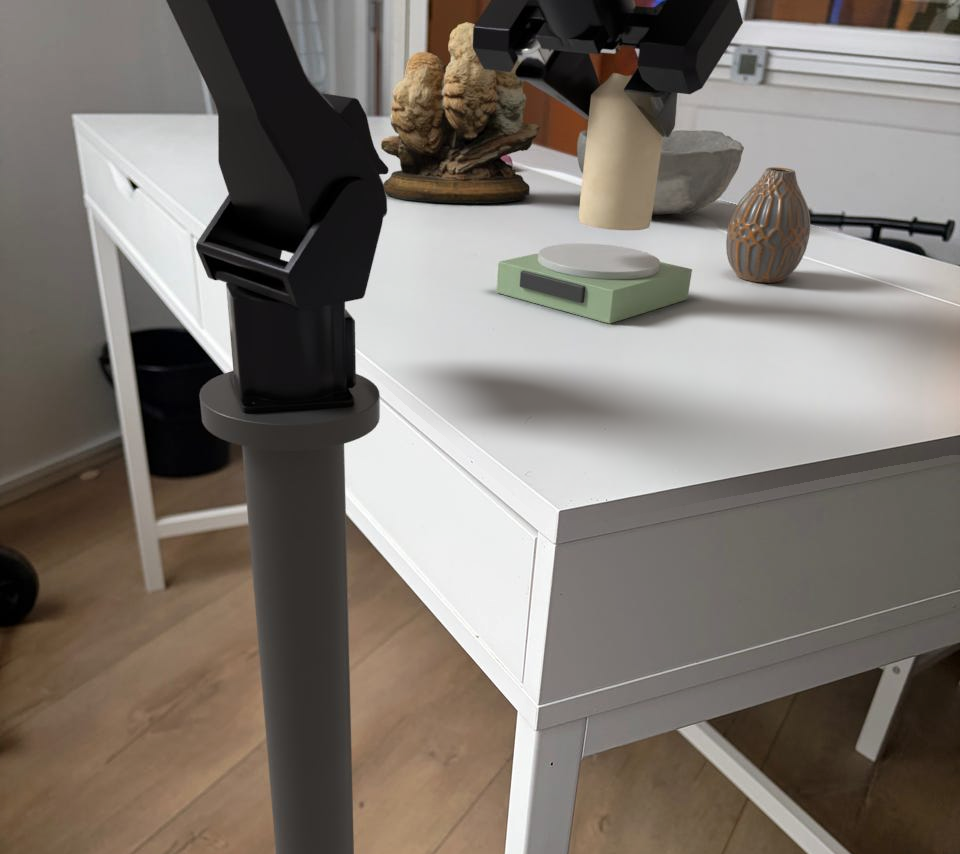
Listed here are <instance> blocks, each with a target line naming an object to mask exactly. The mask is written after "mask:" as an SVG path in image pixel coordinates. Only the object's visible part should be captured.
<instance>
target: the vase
mask: <svg viewBox="0 0 960 854" xmlns="http://www.w3.org/2000/svg"><path fill="white" fill-rule="evenodd" d="M726 231H727V233H726V241H725V248H726V249H725V250H726V256H727V261H728V263H729V267H731V269H732V271H733V272H734V274H735V276H736V277H738V278H740V279H742V280H745V281H749V282H755V283H764V284H774V283H779V282H782V281H783V280H785V279H787V277H789V276H790V275H791V274H792V273H794V271H795V270H796V269H797V267H798V266H799V265H800V263H801V261H802V259H803V257H804V255H805V253H806V251H807V247H808V244H809V240H810V235H811V214H810V210H809V206H808V203H807V201H806V199H805V196H804V195H803V192H802V190H801V188H800V185H799V183H798V180H797V173H796V171H795V170H794V169H792V168H786V167H778V166H777V167H773V166H772V167H767V168H766V169H764V172H763V174H762V175H761V176H760V178H759V180H758V181H757V182H756V183H755V184H754V185H753V186H752V187H751V188H750V189H749V190H748V191H747V192H746V194H744V196H743V197H742V198H741V199H740V200H739V202H738V203H737V204H736V207H735V209H734V210H733V212H732V215H731V217H730V220H729V223H728V227H727V230H726Z"/></svg>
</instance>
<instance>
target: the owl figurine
mask: <svg viewBox="0 0 960 854" xmlns="http://www.w3.org/2000/svg"><path fill="white" fill-rule="evenodd" d="M475 24H476V23H475ZM475 24H474V23H471V22H469V21H465V22H464V23H460V24H457V26H456V27H455V28H454V29H452V31H451V33H450V34H449V40H448V45H447V46H448V47H447V48H448V51H447V52H448V53H449V55H450V62H449V63H448V65H446V64H445V63H444V61H442V60H441V59H440V57H439V56H437V55H435V54H433V53H431V52H427V51H418V52H416V53H413V54H412V55H411V56H410V57H409V59H408V61H407V64H406V66H405V67H406V68H405V72H404V77H403V79H402V80H401V81H399V82H397V84H396V86H395V87H394V90H393V91H392V97H393V99H392V102H391V104H390V105H391V107H390V108H391V109H390V110H391V114H390V115H389V119H390V125H391V127H392V129H393V131H394V132H395V134H398V135H389V136H388V137H384V138H382V140H381V142H380V143H381V144H380V148H381V150H383V151H384V152H385V153H386V154H388V155H390V156H393V157H396V158H398V159H399V166H400V170H395V171H393V172H392V173H391V174H390V176H389V177H388V179H386V180H385V181H383V185H384V189H385V193H386V196H390V197H393V198H395V199H399V200H405V201H416V202H429V203H430V202H431V203H442V204H444V203H447V204H449V203H450V204H495V203H498V204H499V203H509V202H516V201H521V200H523V199H525V198H526V197H529V196H530V190H531V189H530V184H528V183H527V182H526V181H525V180H524V178H523V176H522V175H521V174H517V173H516V172H517V171H516V170H515V169H513V168H514V166H510V165H508V164H506V163H505V161H503V160H502V159H501V157H502V156H505V155H508V156H509V155H511V154H514V153H517V152H520V151H522V152H524V151H528V150H529V149H531V147H532V146H533V140H534V139H536V137H538V134H539V130H540V129H541V127H540V125H539V124H536V123H529V124H528V123H523V122H524V120H523V119H524V110H525V107H526V102H527V95H526V94H525V93H524V90H523V87H524V82H525V81H521V80H519V79H518V78H517V76H516V74H515V71H516V69H517V67H518V66H519V64H520V62H519V60H517V62H516V64H515V66H514V68H513V69H512V71H511V72H504V71H495V70H487V69H484V68H483V66H482V64H481V63H480V61H479V59H478V57H477V55H476V53H475V51H474V50H473V28H474V26H475Z"/></svg>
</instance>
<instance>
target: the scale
mask: <svg viewBox="0 0 960 854" xmlns="http://www.w3.org/2000/svg"><path fill="white" fill-rule="evenodd" d="M497 267H498V268H497V278H496V279H497V280H496V282H497V283H496V293H497V294H499V295H504V296H508V297H511V298H515V299H518V300H522V301H525V302H529V303H532V304H537V305H541V306H544V307H547V308H551V309H555V310H558V311H562V312H565V313H570V314H573V315H577V316H580V317H583V318H587V319H591V320H594V321H599V322H602V323H605V324H609V325H610V324H613V323H616V322H619V321H622V320H626V319H629V318H632V317H635V316H638V315H639V316H640V315H643V314H645V313H649V312H652V311H655V310H658V309H661V308H664V307H668V306H671V305H674V304H677V303H681V302H684V301H687V300H688V299H689V298H688V297H689V292H690V287H691V286H690V285H691V281H692V273H693V269H692V268H689V267H685V266H681V265H676V264H671V263H667V262H664V261H661V260H660V259H659V258H658V257H656V256H655V255H653V254H651V253H648V252H646V251H642V250H639V249H635V248H631V247H625V246H618V245H612V244H600V243H584V242H583V243H580V242H579V243H561V244H554V245H550V246H549V245H548V246H545V247H543V248H542V249H540V250H539V251H538V252H537V253H533V254H528V255H524V256H518V257H513V258H509V259H505V260H500V261H498V263H497Z"/></svg>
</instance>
